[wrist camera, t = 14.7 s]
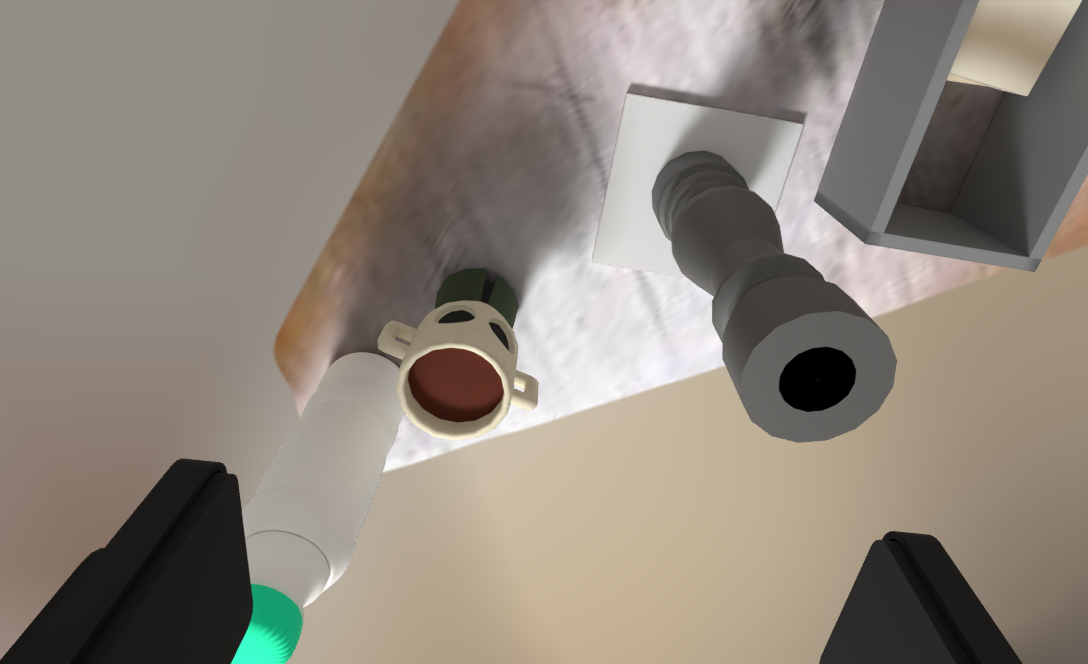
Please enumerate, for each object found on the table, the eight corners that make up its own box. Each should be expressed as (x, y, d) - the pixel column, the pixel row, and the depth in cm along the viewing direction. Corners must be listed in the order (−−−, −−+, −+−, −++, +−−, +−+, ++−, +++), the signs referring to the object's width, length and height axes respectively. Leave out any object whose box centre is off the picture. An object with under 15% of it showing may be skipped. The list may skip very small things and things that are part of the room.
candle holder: (658, 146, 46) (752, 296, 23) (748, 154, 46) (928, 311, 23) (644, 233, 48) (717, 441, 26) (729, 240, 48) (874, 454, 26)
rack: (904, -56, 40) (990, -67, 32) (1070, -24, 41) (1194, -27, 33) (813, 201, 48) (865, 243, 40) (956, 224, 48) (1034, 272, 40)
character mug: (561, 292, 51) (561, 380, 40) (522, 365, 54) (512, 467, 43) (427, 234, 49) (387, 308, 38) (395, 313, 52) (349, 404, 41)
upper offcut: (952, -49, 39) (976, -51, 37) (1059, -13, 40) (1089, -13, 37) (901, 59, 41) (920, 63, 39) (1002, 90, 42) (1027, 96, 40)
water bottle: (311, 361, 55) (140, 617, 32) (390, 338, 53) (270, 587, 31) (348, 429, 58) (215, 707, 35) (424, 409, 56) (337, 683, 34)
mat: (626, 92, 45) (627, 93, 44) (800, 123, 45) (803, 124, 45) (591, 259, 50) (592, 262, 49) (747, 284, 51) (749, 287, 50)
